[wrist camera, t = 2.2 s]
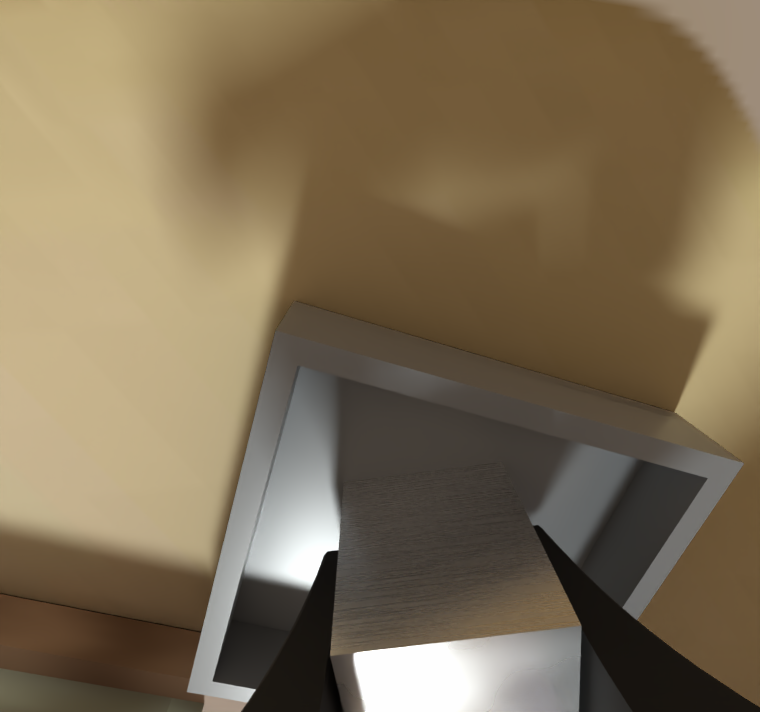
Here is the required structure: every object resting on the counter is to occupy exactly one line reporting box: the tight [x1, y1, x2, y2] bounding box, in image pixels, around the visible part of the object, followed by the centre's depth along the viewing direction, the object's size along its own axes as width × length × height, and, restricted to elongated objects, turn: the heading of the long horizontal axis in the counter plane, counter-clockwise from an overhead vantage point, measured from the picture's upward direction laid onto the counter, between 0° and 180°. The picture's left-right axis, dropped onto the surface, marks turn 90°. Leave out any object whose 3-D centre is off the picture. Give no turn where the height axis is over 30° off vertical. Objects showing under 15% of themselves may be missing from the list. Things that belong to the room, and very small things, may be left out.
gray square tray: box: [187, 301, 744, 702], centre depth 13 cm, size 11×11×2 cm
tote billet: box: [330, 462, 582, 712], centre depth 11 cm, size 4×4×5 cm
